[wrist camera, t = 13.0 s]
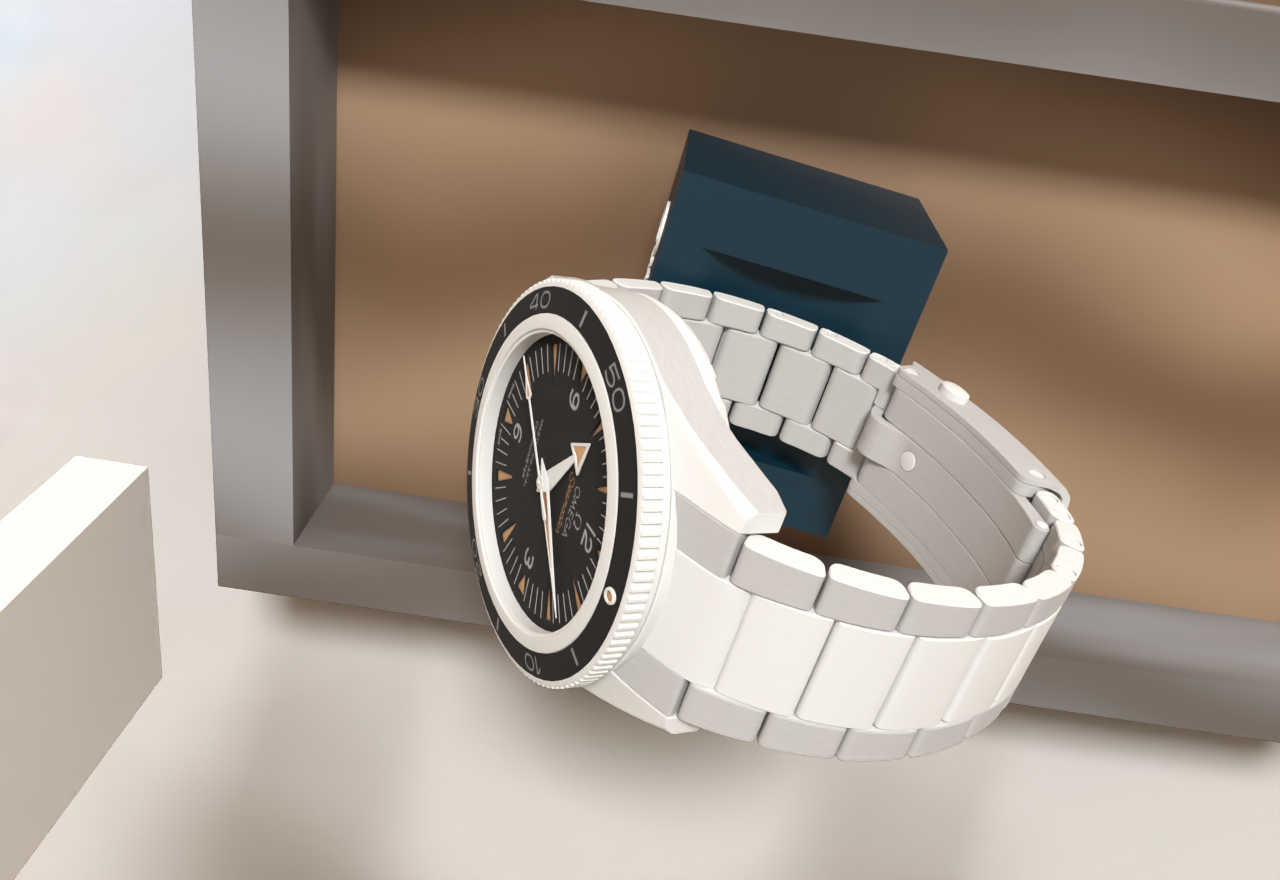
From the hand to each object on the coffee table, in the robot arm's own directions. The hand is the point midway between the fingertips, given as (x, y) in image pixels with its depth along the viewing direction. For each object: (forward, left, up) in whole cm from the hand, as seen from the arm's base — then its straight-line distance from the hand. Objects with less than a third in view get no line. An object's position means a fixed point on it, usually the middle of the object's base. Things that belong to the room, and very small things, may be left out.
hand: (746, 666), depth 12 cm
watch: (0, 0, -11) cm, 11 cm away
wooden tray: (0, -3, -12) cm, 13 cm away
